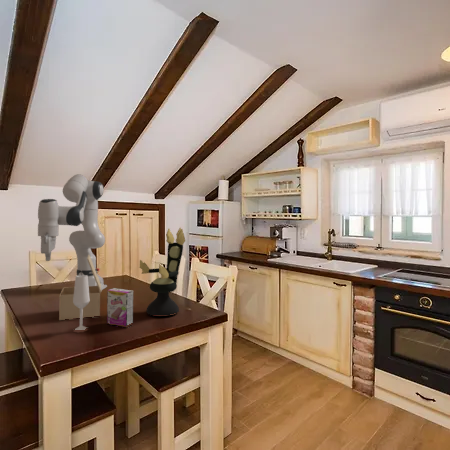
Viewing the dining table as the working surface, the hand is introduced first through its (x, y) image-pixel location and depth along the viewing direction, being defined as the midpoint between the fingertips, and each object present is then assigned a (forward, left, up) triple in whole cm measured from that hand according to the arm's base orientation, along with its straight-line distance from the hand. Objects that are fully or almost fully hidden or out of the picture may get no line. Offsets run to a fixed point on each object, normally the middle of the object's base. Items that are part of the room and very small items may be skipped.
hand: (48, 260), depth 156 cm
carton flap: (-11, +18, -7) cm, 22 cm away
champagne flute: (+12, +27, -28) cm, 40 cm away
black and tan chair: (-22, +53, -28) cm, 63 cm away
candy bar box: (+2, +40, -28) cm, 48 cm away
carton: (-8, +13, -28) cm, 31 cm away
